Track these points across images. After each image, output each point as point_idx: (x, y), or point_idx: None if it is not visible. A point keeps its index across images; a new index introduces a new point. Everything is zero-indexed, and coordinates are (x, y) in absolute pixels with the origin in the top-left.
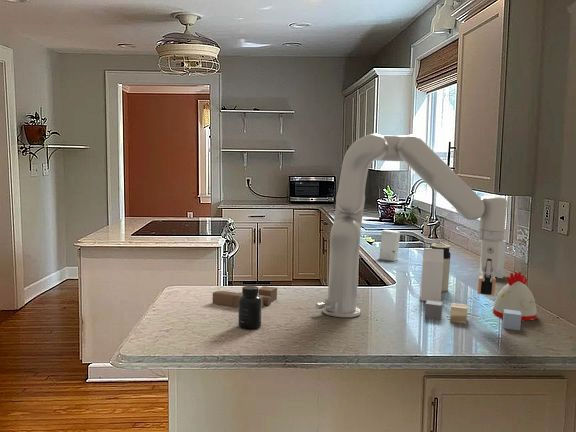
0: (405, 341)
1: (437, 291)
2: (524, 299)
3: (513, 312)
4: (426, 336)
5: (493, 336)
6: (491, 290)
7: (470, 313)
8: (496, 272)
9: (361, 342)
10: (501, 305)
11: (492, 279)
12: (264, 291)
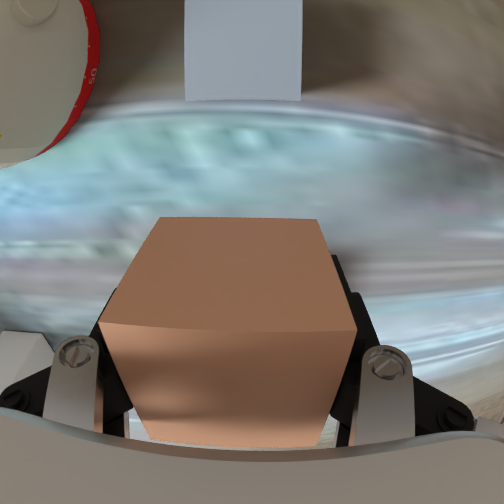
0: (479, 366)
1: (33, 367)
2: (8, 8)
3: (254, 39)
4: (452, 345)
5: (437, 159)
6: (344, 276)
7: (98, 244)
8: (500, 437)
9: (473, 406)
10: (40, 127)
11: (315, 365)
12: None
